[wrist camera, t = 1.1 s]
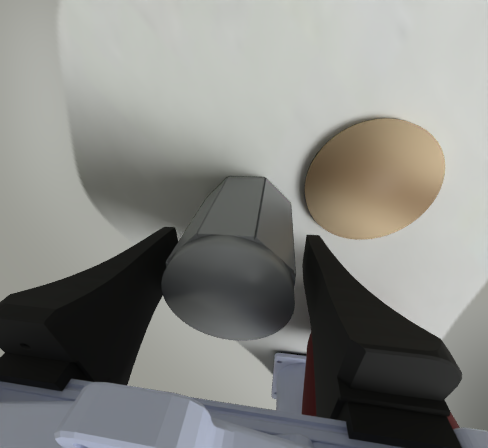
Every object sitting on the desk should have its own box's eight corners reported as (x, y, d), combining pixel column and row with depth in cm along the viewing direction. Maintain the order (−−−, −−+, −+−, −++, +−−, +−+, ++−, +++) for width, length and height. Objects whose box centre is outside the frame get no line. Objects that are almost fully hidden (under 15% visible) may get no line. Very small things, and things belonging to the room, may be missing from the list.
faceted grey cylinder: (286, 252, 17) (289, 346, 11) (211, 247, 17) (174, 333, 12) (293, 177, 14) (301, 253, 8) (201, 175, 14) (146, 242, 9)
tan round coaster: (412, 238, 15) (415, 242, 14) (299, 232, 16) (299, 236, 15) (465, 117, 11) (472, 119, 10) (312, 119, 12) (313, 120, 11)
